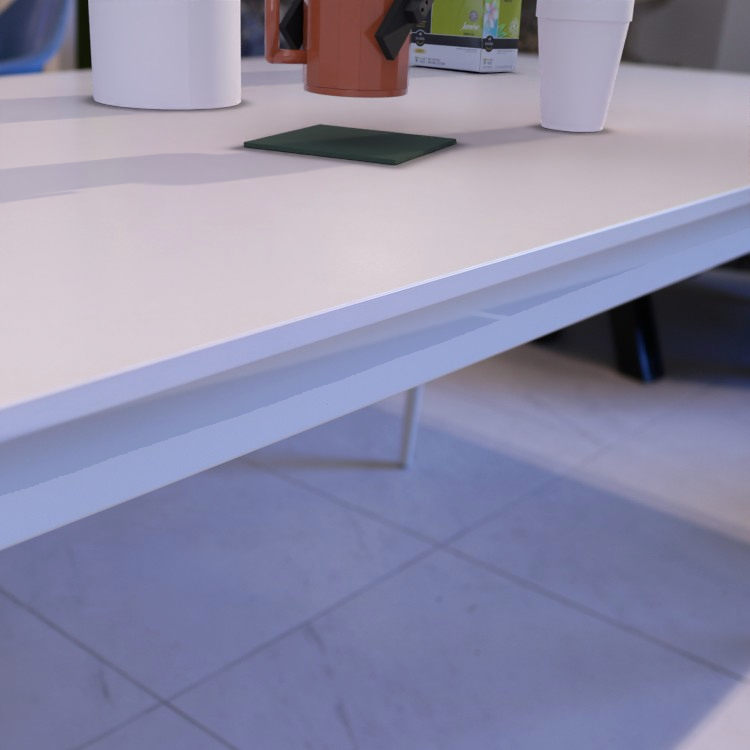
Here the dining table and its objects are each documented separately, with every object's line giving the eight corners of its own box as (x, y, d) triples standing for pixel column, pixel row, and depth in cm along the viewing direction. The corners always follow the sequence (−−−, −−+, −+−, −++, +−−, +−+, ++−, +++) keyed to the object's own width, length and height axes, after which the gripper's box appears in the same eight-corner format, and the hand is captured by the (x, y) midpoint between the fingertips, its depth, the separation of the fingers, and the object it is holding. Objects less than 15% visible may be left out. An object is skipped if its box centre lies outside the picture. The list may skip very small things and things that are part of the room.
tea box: (518, 71, 168) (526, -27, 163) (479, 74, 161) (486, -29, 156) (446, 63, 178) (451, -30, 173) (406, 65, 171) (411, -32, 166)
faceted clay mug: (391, 85, 96) (396, -44, 92) (421, 98, 88) (429, -44, 84) (255, 84, 93) (256, -51, 88) (274, 96, 84) (275, -51, 80)
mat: (456, 143, 96) (456, 138, 95) (395, 164, 84) (395, 159, 83) (319, 128, 101) (319, 124, 101) (243, 146, 89) (243, 142, 89)
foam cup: (544, 133, 103) (557, -7, 99) (513, 120, 112) (524, -10, 107) (633, 134, 105) (651, -3, 101) (596, 121, 114) (611, -6, 109)
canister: (186, 89, 127) (181, -92, 120) (270, 104, 116) (271, -93, 109) (65, 95, 116) (53, -103, 109) (146, 113, 106) (138, -106, 98)
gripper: (569, -115, 91) (463, 87, 84) (362, -115, 102) (254, 64, 95) (548, -193, 85) (432, 18, 78) (330, -183, 96) (213, 2, 89)
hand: (334, 43), depth 87 cm, fingers closed on faceted clay mug, 9 cm apart
